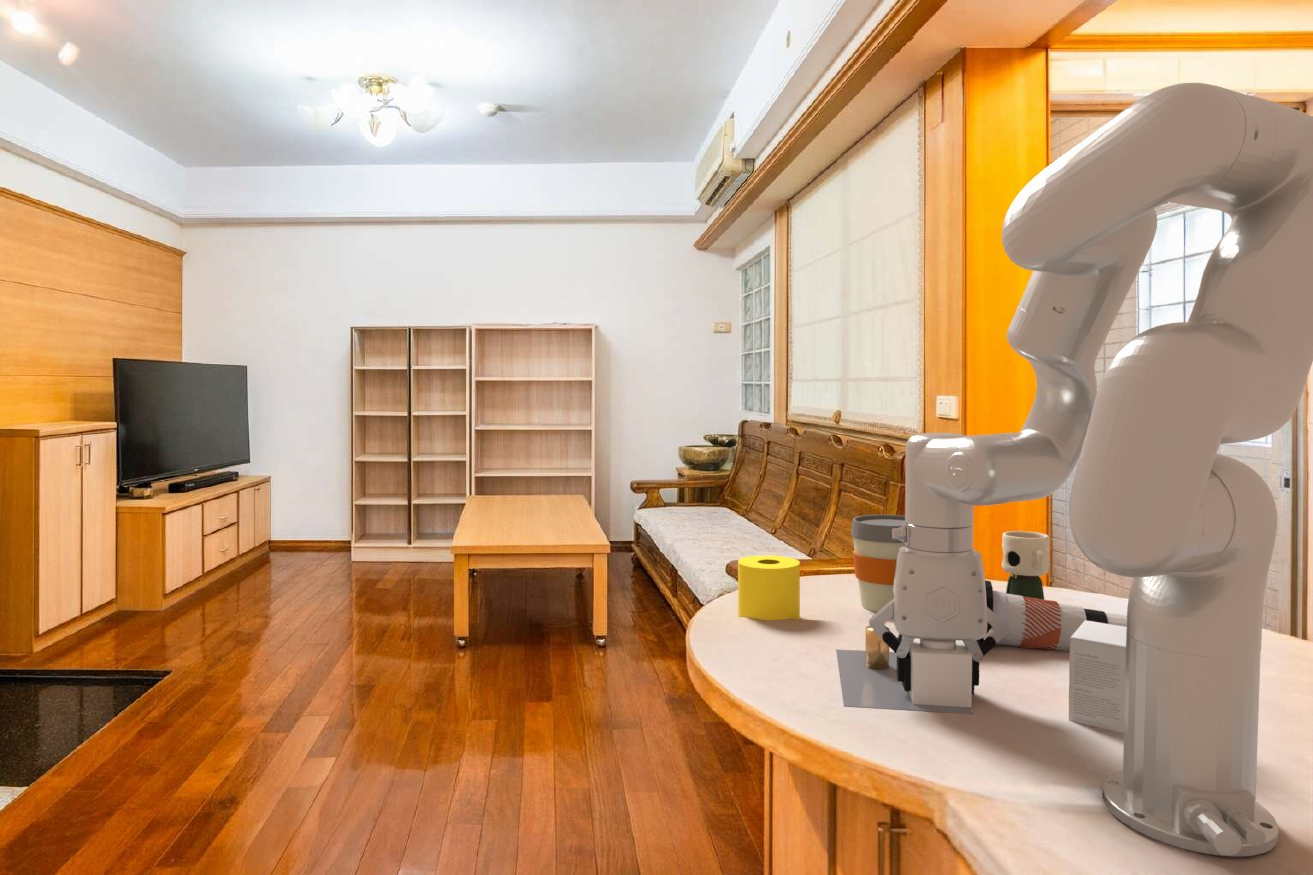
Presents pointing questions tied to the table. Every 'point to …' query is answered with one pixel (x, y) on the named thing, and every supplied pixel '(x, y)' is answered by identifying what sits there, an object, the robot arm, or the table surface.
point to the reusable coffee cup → (875, 557)
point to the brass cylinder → (876, 651)
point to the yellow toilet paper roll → (769, 587)
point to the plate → (878, 686)
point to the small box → (1097, 675)
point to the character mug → (1025, 562)
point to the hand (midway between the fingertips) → (937, 687)
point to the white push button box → (940, 673)
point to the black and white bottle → (1042, 620)
